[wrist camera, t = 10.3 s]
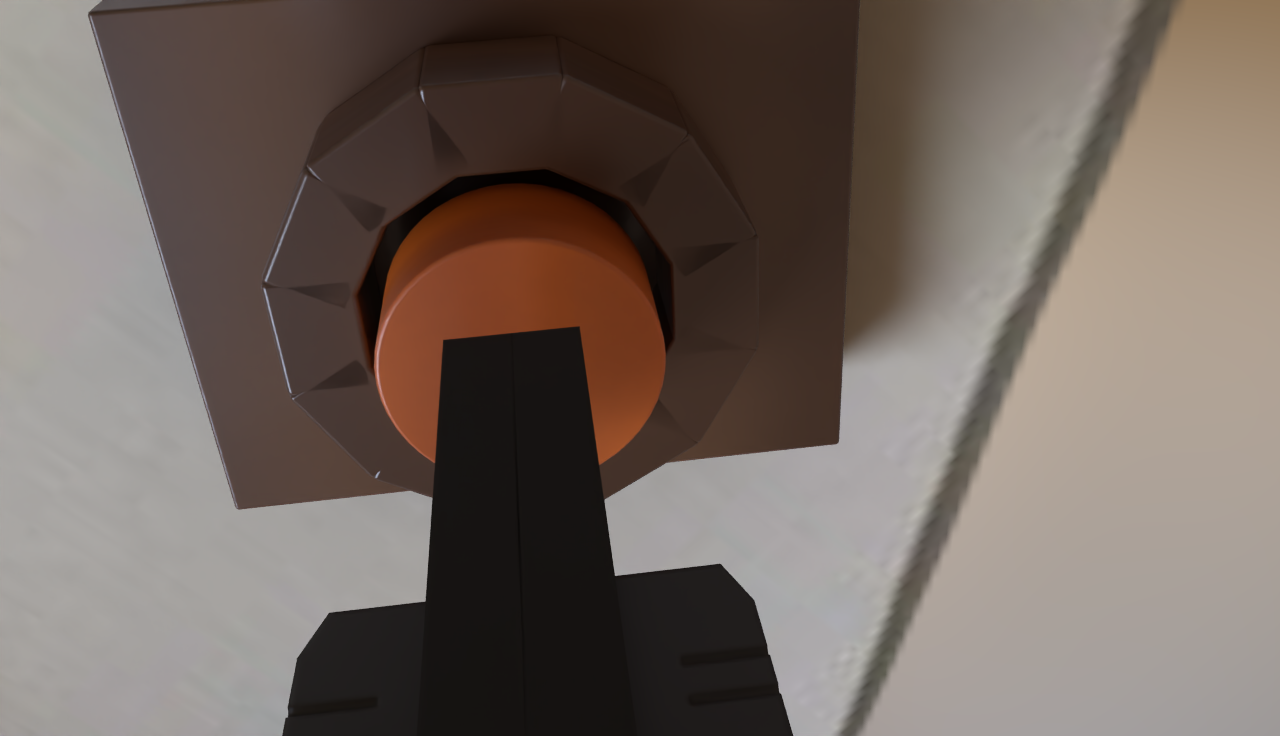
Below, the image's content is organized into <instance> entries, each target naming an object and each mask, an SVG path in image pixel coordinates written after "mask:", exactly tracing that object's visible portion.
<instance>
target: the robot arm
mask: <svg viewBox="0 0 1280 736" xmlns="http://www.w3.org/2000/svg"><path fill="white" fill-rule="evenodd" d="M282 736H793V734H792V730H791V727H790V723H789V720H788V716H787V713H786V709H785V706H784V702H783V699H782V695H781V694H780V693H779V688H778V681H777V678H776V674H775V671H774V667H773V664H772V660H771V657H770V655H768V649H767V643H766V640H765V636H764V633H763V629H762V626H761V622H760V619H759V615H758V612H757V608H756V605H755V601H754V600H753V598H752V597H751V596H750V595H749V594H748V593H747V592H746V591H745V590H744V589H743V588H742V587H741V585H740V584H739V583H738V582H737V581H736V580H735V579H734V578H733V577H732V576H731V575H730V574H729V573H728V571H727V570H726V569H725V568H724V567H723V566H722V565H721V564H715V565H706V566H697V567H689V568H680V569H672V570H663V571H654V572H646V573H637V574H629V575H620V576H615V573H614V566H613V559H612V552H611V545H610V538H609V531H608V524H607V517H606V510H605V503H604V495H603V488H602V481H601V474H600V467H599V460H598V453H597V446H596V439H595V432H594V424H593V417H592V410H591V403H590V396H589V389H588V382H587V375H586V368H585V361H584V353H583V346H582V339H581V332H580V326H576V327H566V328H556V329H547V330H537V331H527V332H517V333H507V334H497V335H487V336H477V337H467V338H457V339H448V340H443V350H442V365H441V380H440V395H439V410H438V425H437V440H436V455H435V470H434V485H433V500H432V515H431V530H430V545H429V560H428V575H427V590H426V602H419V603H410V604H401V605H393V606H384V607H376V608H367V609H359V610H350V611H341V612H333V613H329V614H328V615H327V617H326V618H325V620H324V621H323V622H322V624H321V625H320V627H319V628H318V630H317V631H316V632H315V634H314V635H313V637H312V638H311V639H310V641H309V642H308V644H307V645H306V647H305V648H304V649H303V651H302V652H301V654H300V655H299V657H298V658H297V662H296V668H295V673H294V678H293V683H292V688H291V694H290V699H289V704H288V718H286V719H285V725H284V730H283V735H282Z"/></svg>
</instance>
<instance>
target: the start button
mask: <svg viewBox="0 0 1280 736" xmlns="http://www.w3.org/2000/svg"><path fill="white" fill-rule="evenodd" d="M576 326H580V332H581V339H582V346H583V353H584V361H585V368H586V375H587V382H588V389H589V396H590V403H591V410H592V417H593V424H594V432H595V439H596V446H597V453H598V460H599V465H600V464H602V463H604V462H605V461H606V460H608V459H609V458H611V457H612V456H614V455H615V454H617V453H618V452H619V451H620V450H621V449H622V448H624V447H625V446H626V445H627V444H628V443H629V442H630V441H631V440H632V439H633V438H634V437H635V435H636V434H637V433H638V432H639V431H640V430H641V428H642V427H643V425H644V424H645V422H646V421H647V419H648V418H649V417H650V415H651V413H652V411H653V409H654V407H655V405H656V403H657V401H658V398H659V395H660V392H661V389H662V386H663V380H664V375H665V366H666V351H665V343H664V336H663V333H662V329H661V325H660V321H659V317H658V313H657V310H656V306H655V302H654V298H653V294H652V291H651V287H650V283H649V279H648V276H647V272H646V269H645V265H644V262H643V260H642V258H641V256H640V254H639V251H638V249H637V248H636V246H635V245H634V243H633V241H632V240H631V238H630V237H629V235H628V234H627V233H626V232H625V231H624V229H623V228H622V227H621V226H620V225H619V224H618V223H617V222H616V221H615V220H614V219H613V218H612V217H611V216H609V215H608V214H607V213H606V212H605V211H603V210H602V209H600V208H599V207H597V206H596V205H594V204H593V203H591V202H589V201H587V200H585V199H583V198H581V197H579V196H577V195H575V194H572V193H569V192H567V191H564V190H561V189H558V188H553V187H548V186H544V185H537V184H526V183H513V184H499V185H493V186H486V187H483V188H479V189H476V190H472V191H469V192H466V193H464V194H461V195H459V196H457V197H454V198H452V199H450V200H449V201H447V202H445V203H443V204H442V205H440V206H438V207H437V208H435V209H434V210H433V211H431V212H430V213H429V214H428V215H426V216H425V217H424V218H422V220H421V221H420V222H419V223H418V224H417V225H416V226H415V227H414V228H413V229H412V230H411V231H410V232H409V234H408V235H407V236H406V238H405V239H404V240H403V242H402V243H401V245H400V247H399V248H398V250H397V252H396V254H395V256H394V258H393V260H392V263H391V266H390V269H389V272H388V275H387V280H386V286H385V291H384V297H383V303H382V309H381V315H380V321H379V327H378V333H377V339H376V345H375V355H374V370H375V378H376V385H377V388H378V392H379V395H380V399H381V401H382V404H383V406H384V408H385V410H386V412H387V415H388V416H389V418H390V419H391V421H392V422H393V424H394V425H395V427H396V429H397V430H398V431H399V432H400V433H401V435H402V436H403V437H404V438H405V439H406V440H407V442H408V443H409V444H411V445H412V446H413V447H414V448H415V449H416V450H417V451H418V452H419V453H421V454H422V455H423V456H425V457H426V458H428V459H429V460H431V461H432V462H433V463H435V455H436V440H437V425H438V410H439V395H440V380H441V365H442V350H443V340H448V339H457V338H467V337H477V336H487V335H497V334H507V333H517V332H527V331H537V330H547V329H556V328H566V327H576Z"/></svg>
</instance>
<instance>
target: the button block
mask: <svg viewBox="0 0 1280 736" xmlns="http://www.w3.org/2000/svg"><path fill="white" fill-rule="evenodd" d="M859 8H860V0H102V1H101V2H100V3H99V4H98V5H97V6H95V7H94V8H93V9H92V10H91V11H90V12H89V13H88V17H89V20H90V24H91V27H92V30H93V34H94V37H95V40H96V44H97V47H98V50H99V54H100V57H101V60H102V64H103V67H104V70H105V74H106V77H107V80H108V84H109V87H110V90H111V94H112V97H113V100H114V104H115V107H116V110H117V114H118V117H119V120H120V124H121V127H122V130H123V134H124V137H125V140H126V144H127V147H128V150H129V154H130V157H131V160H132V164H133V167H134V170H135V174H136V177H137V180H138V184H139V187H140V190H141V194H142V197H143V200H144V204H145V207H146V210H147V214H148V217H149V220H150V224H151V227H152V230H153V234H154V237H155V240H156V244H157V247H158V250H159V254H160V257H161V260H162V264H163V267H164V270H165V274H166V277H167V280H168V284H169V287H170V290H171V294H172V297H173V300H174V304H175V307H176V310H177V314H178V317H179V320H180V324H181V327H182V330H183V334H184V337H185V340H186V344H187V347H188V350H189V354H190V357H191V360H192V364H193V367H194V370H195V374H196V377H197V380H198V384H199V387H200V390H201V394H202V397H203V400H204V404H205V407H206V410H207V414H208V417H209V420H210V424H211V427H212V430H213V434H214V437H215V440H216V444H217V447H218V450H219V454H220V457H221V460H222V464H223V467H224V470H225V474H226V477H227V480H228V484H229V487H230V490H231V494H232V497H233V500H234V504H235V507H236V508H237V509H248V508H257V507H266V506H275V505H284V504H293V503H302V502H312V501H321V500H330V499H339V498H348V497H357V496H366V495H376V494H385V493H394V492H403V491H413V492H416V493H419V494H422V495H426V496H429V497H432V498H433V485H434V470H435V463H433V462H432V461H431V460H429V459H428V458H426V457H425V456H423V455H422V454H421V453H419V452H418V451H417V450H416V449H415V448H414V447H413V446H412V445H411V444H409V443H408V442H407V440H406V439H405V438H404V437H403V436H402V435H401V433H400V432H399V431H398V430H397V429H396V427H395V425H394V424H393V422H392V421H391V419H390V418H389V416H388V415H387V412H386V410H385V408H384V406H383V404H382V401H381V399H380V395H379V392H378V388H377V385H376V378H375V370H374V355H375V345H376V339H377V333H378V327H379V321H380V315H381V309H382V303H383V297H384V291H385V286H386V280H387V275H388V272H389V269H390V266H391V263H392V260H393V258H394V256H395V254H396V252H397V250H398V248H399V247H400V245H401V243H402V242H403V240H404V239H405V238H406V236H407V235H408V234H409V232H410V231H411V230H412V229H413V228H414V227H415V226H416V225H417V224H418V223H419V222H420V221H421V220H422V218H424V217H425V216H426V215H428V214H429V213H430V212H431V211H433V210H434V209H435V208H437V207H438V206H440V205H442V204H443V203H445V202H447V201H449V200H450V199H452V198H454V197H457V196H459V195H461V194H464V193H466V192H469V191H472V190H476V189H479V188H483V187H486V186H493V185H499V184H513V183H526V184H537V185H544V186H548V187H553V188H558V189H561V190H564V191H567V192H569V193H572V194H575V195H577V196H579V197H581V198H583V199H585V200H587V201H589V202H591V203H593V204H594V205H596V206H597V207H599V208H600V209H602V210H603V211H605V212H606V213H607V214H608V215H609V216H611V217H612V218H613V219H614V220H615V221H616V222H617V223H618V224H619V225H620V226H621V227H622V228H623V229H624V231H625V232H626V233H627V234H628V235H629V237H630V238H631V240H632V241H633V243H634V245H635V246H636V248H637V249H638V251H639V254H640V256H641V258H642V260H643V262H644V265H645V269H646V272H647V276H648V279H649V283H650V287H651V291H652V294H653V298H654V302H655V306H656V310H657V313H658V317H659V321H660V325H661V329H662V333H663V336H664V343H665V351H666V366H665V375H664V380H663V386H662V389H661V392H660V395H659V398H658V401H657V403H656V405H655V407H654V409H653V411H652V413H651V415H650V417H649V418H648V419H647V421H646V422H645V424H644V425H643V427H642V428H641V430H640V431H639V432H638V433H637V434H636V435H635V437H634V438H633V439H632V440H631V441H630V442H629V443H628V444H627V445H626V446H625V447H624V448H622V449H621V450H620V451H619V452H618V453H617V454H615V455H614V456H612V457H611V458H609V459H608V460H606V461H605V462H604V463H602V464H600V465H599V467H600V474H601V481H602V488H603V495H604V500H605V499H606V498H608V497H610V496H611V495H613V494H615V493H616V492H618V491H620V490H621V489H623V488H625V487H626V486H628V485H630V484H632V483H633V482H635V481H637V480H638V479H640V478H642V477H643V476H645V475H647V474H648V473H650V472H652V471H653V470H655V469H657V468H658V467H660V466H662V465H664V464H665V463H668V462H677V461H686V460H695V459H704V458H713V457H723V456H732V455H741V454H750V453H759V452H768V451H777V450H787V449H796V448H805V447H814V446H823V445H832V444H837V443H838V442H839V430H840V409H841V388H842V366H843V345H844V324H845V303H846V282H847V261H848V240H849V219H850V198H851V177H852V155H853V134H854V113H855V92H856V71H857V50H858V29H859Z"/></svg>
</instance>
